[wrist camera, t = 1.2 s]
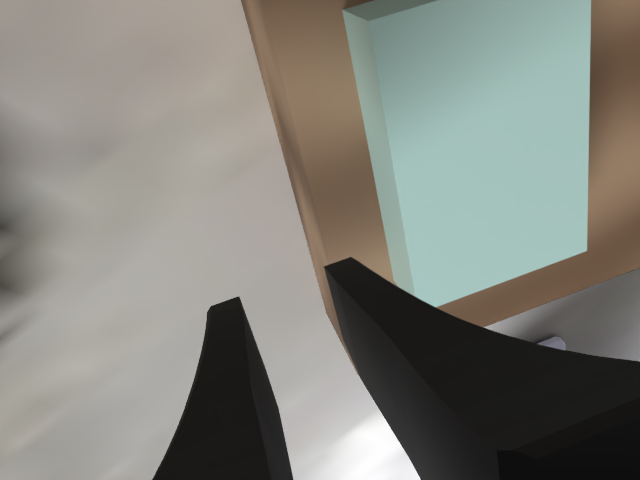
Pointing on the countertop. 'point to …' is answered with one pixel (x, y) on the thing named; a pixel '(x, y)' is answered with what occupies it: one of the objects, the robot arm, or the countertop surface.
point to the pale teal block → (475, 135)
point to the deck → (356, 168)
